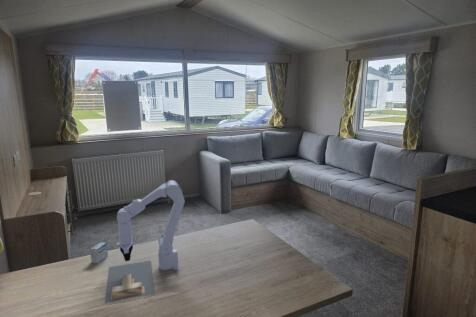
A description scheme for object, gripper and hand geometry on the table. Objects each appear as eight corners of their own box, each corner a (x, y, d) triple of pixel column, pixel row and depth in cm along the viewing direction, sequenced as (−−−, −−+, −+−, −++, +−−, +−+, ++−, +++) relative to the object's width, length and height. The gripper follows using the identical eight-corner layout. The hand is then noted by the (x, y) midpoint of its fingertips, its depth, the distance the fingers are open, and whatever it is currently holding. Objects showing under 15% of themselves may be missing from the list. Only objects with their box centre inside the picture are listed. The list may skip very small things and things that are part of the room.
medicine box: (99, 265, 157) (97, 249, 155) (91, 264, 158) (89, 248, 156) (108, 257, 165) (107, 242, 163) (100, 256, 166) (99, 241, 164)
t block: (141, 277, 145) (140, 272, 144) (142, 291, 134) (141, 286, 134) (113, 282, 141) (113, 277, 140) (112, 297, 130) (111, 291, 130)
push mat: (150, 262, 160) (150, 260, 160) (155, 295, 133) (155, 293, 133) (109, 269, 154) (109, 267, 153) (104, 305, 127) (104, 303, 126)
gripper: (116, 229, 151) (119, 254, 154) (115, 241, 138) (118, 269, 140) (131, 226, 153) (133, 252, 156) (132, 239, 140) (134, 266, 143)
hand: (127, 260), depth 148 cm, fingers closed
